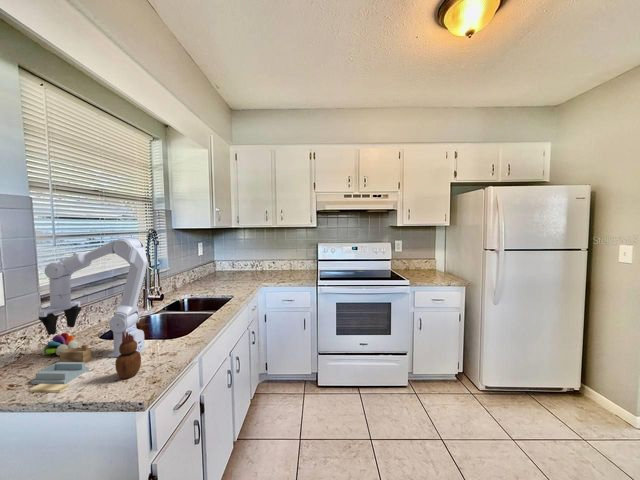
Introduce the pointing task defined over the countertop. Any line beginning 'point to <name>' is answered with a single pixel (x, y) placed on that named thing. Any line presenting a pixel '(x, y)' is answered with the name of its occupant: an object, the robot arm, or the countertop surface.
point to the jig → (60, 373)
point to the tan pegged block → (76, 354)
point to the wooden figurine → (128, 357)
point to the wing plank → (49, 388)
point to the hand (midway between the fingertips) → (61, 330)
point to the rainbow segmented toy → (60, 344)
